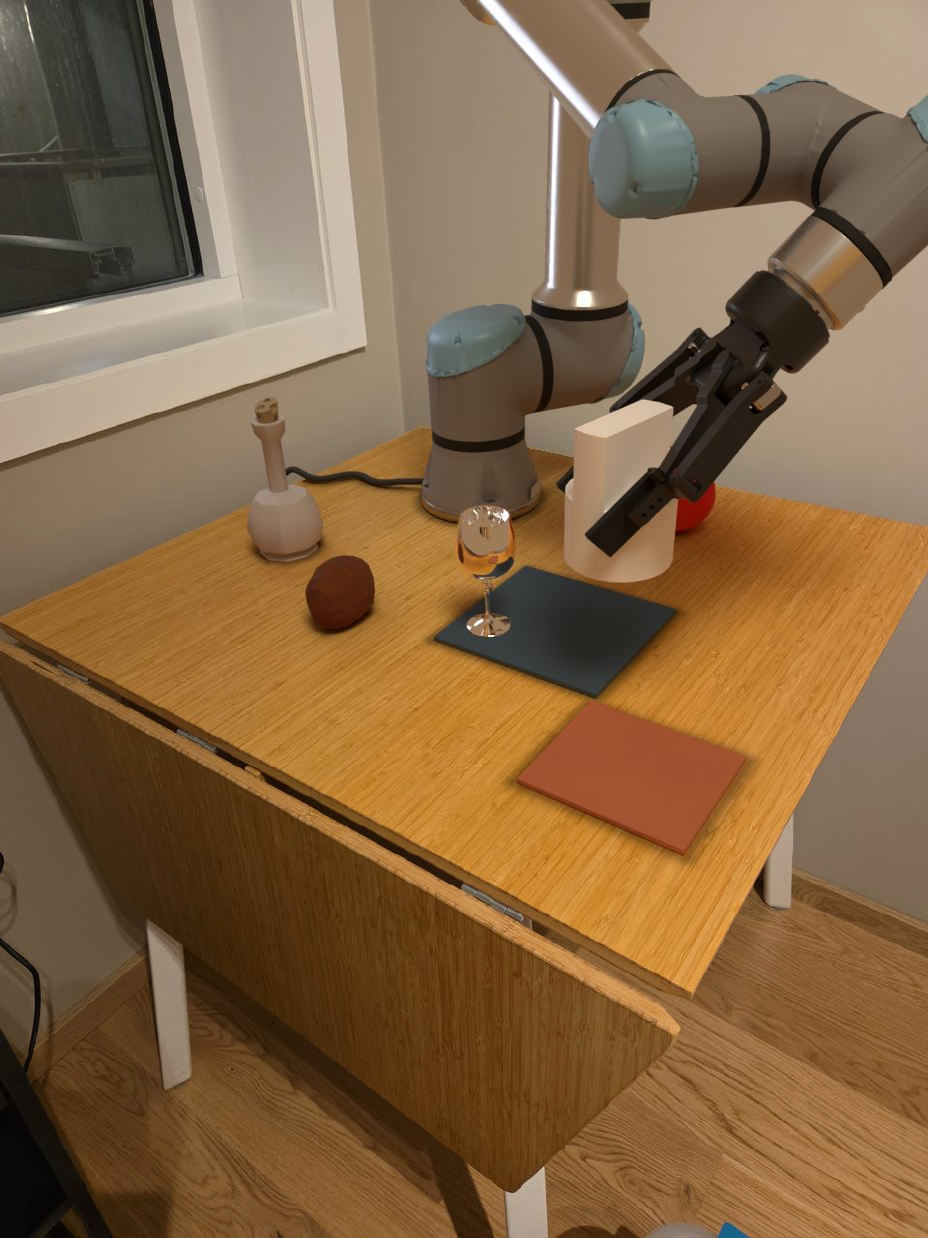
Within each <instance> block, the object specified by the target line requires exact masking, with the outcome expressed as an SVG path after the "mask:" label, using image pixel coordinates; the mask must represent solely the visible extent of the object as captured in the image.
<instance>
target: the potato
mask: <svg viewBox="0 0 928 1238" xmlns="http://www.w3.org/2000/svg"><path fill="white" fill-rule="evenodd" d="M304 594H305V599H306V600H305V601H306V604H307V607H308V610H309V613H310V615H311V617H312V619H313V622H315V623H316V624H317V625H318V626H320V627H321V628H323V629H327V630H338V629H343V628H344V627H345V628H346V627H347V626H349V625H352V624H353V623H354V622H356V621H357V620H359V619H360V618H361V617H362V616H364V614H366V613H367V612H369V611H370V609H371V608H372V606H373V604H374V602H375V596H376V595H375V594H376V586H375V578H374V574H373V572H372V569H371V567H370V565H369V563H367V562H366V560H364V559H363V558H360V557H359V556H355V555H348V554H344V555H337V556H333V557H331V558H328V559H326V560H325V561H323V562H322V563H321V564H319V565H318V566H317V567H316V568H315V570H314V572H313V574H312V576H311V578H310V579H309V581H308V583H307V584H306V587H305V590H304Z"/></svg>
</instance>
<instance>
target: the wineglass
mask: <svg viewBox="0 0 928 1238" xmlns="http://www.w3.org/2000/svg"><path fill="white" fill-rule="evenodd" d="M514 529H515V527H514V524H513V522H512V519H511V518H510V514H509V512H508V511H507V510H505V509H503V508H501V507H497V506H489V505H485V506H476V507H472V508H469V509H467V510H465V511H463V512H462V513H461V515H460V518H459V522H457V528H456V535H455V556H456V561H457V564H458V566H459V568H460V569H461V570H462V571H463V572H464V573H465V574H466V575H468V576H469V577H471V578H474V579H477V580H482V584H481V587H482V591H483V595H484V597H485V600H486V613H482V614H478V615H475V616H473V617H472V618H470V619H469V620H468V622H467V625H466V626H467V629H468V631H469V632H470V633H472V634H474V635H476V636H480V637H495V636H499V635H502V634H504V633H506V632H507V631H508V630H509V629H510V627H511V622H510V620H509V619H508V618H507V617H506V616H504V615H501V614H498V613H491V609H490V595H491V592H492V591H493V581H492V580H495V579H498V578H500V577H502V576H504V575H505V574H507V573H508V572H509V571H510V570H511V568H512V567H513V566H514V563H515V561H516V557H517V540H516V534H515V533H516V532H515V530H514Z"/></svg>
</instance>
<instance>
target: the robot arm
mask: <svg viewBox="0 0 928 1238" xmlns="http://www.w3.org/2000/svg"><path fill="white" fill-rule="evenodd" d="M459 1H460V3H461V4H462V5H463V7H465V9H467V11H468V13H469V14H470V15H471V16H473V18H475V19H476V20H477V21H479V22H481V23H482V24H486V25H488V26H495V27H496V28H498V31H499V32H501V34H502V35H503V36H504V37H505V39H506V40H507V41H508V42H509V43H510V45H511V46H512V47H513V48H514V49H515V51H516V52H517V53H518V54H519V56H521V58H522V59H523V61H524V62H525V63H526V64H527V65H528V67H529V68H530V69H531V70H532V71H533V73H534V74H535V75H536V76H537V77H538V79H539V80H540V81H541V82H542V84H543V85H544V86H545V87H546V88H547V90H548V110H547V111H548V113H547V114H548V115H547V116H548V118H547V151H546V152H547V158H546V195H545V196H546V204H545V239H544V240H545V241H544V243H545V245H544V278H543V280H542V282H541V283H540V284H539V285H537V286H536V288H535V289H534V290H532V292H531V308H530V314H525V315H524V312H523V311H522V309H521V308H520V307H518V306H516V305H513V304H507V303H494V304H490V305H486V304H483V305H482V304H481V305H476V306H471V307H467V308H463V309H460V310H456V311H454V312H451V313H449V314H447V315H445V316H443V317H441V318H439V319H438V320H436V322H435V323H434V324H432V326H430V328H429V330H428V333H427V336H426V360H425V371H426V375H427V384H428V398H429V399H428V400H429V411H430V412H429V413H430V426H431V427H430V428H431V439H432V440H431V443H432V444H431V449H430V452H429V457H428V461H427V464H426V467H425V471H424V476H423V477H401V478H400V477H399V478H384V479H383V478H375V477H373V476H370V475H369V474H367V473H365V472H362V471H356V470H348V471H347V470H346V471H339V472H336V473H332V474H325V475H317V474H312V473H309V472H307V471H305V470H304V469H302V468H300V467H298V466H295V465H294V466H288V467H285V470H286V476H287V477H288V476H289V475H290V474H292V473H293V474H296V475H297V476H299V477H301V478H303V479H305V480H307V481H310V482H314V483H326V482H327V483H328V482H333V481H338V480H342V479H360V480H362V481H364V482H367V483H369V484H371V485H373V486H378V487H389V486H390V487H391V486H421V504H422V506H423V508H424V509H425V511H427V512H428V513H429V514H431V515H433V516H434V517H437V518H440V519H442V520H445V521H449V522H454V523H458V522H459V518H460V515H461V513H462V512H463V511H465V510H467V509H469V508H472V507H476V506H485V505H489V506H497V507H501V508H503V509H505V510H507V511H508V512H509V514H510V518H511V520H512V519H516V518H518V517H520V516H524V515H525V514H527V513H529V512H530V511H532V510H533V509H535V508H536V506H537V505H538V504H539V502H540V498H541V494H540V493H541V490H542V477H540V478H539V476H538V475H537V473H536V469H535V466H534V463H533V460H532V456H531V453H530V451H529V448H528V445H527V443H526V442H527V441H526V416H528V415H532V414H536V413H541V412H542V413H543V412H547V411H552V410H558V409H564V408H570V407H575V406H580V405H585V404H587V405H589V404H590V405H594V404H597V403H600V402H602V401H605V400H608V399H612V398H615V397H618V396H620V395H622V394H623V395H622V396H621V397H619V399H617V400H616V401H615V402H614V403H613V404H611V406H610V407H609V410H608V413H609V414H610V413H612V412H614V411H617V410H619V409H621V408H624V407H626V406H628V405H631V404H633V403H635V402H638V401H640V400H649V401H654V402H660V403H663V404H666V405H669V406H672V407H673V418H674V417H675V416H677V415H679V414H680V413H681V412H683V411H684V410H686V409H688V408H690V407H691V406H693V405H696V406H695V408H694V410H693V412H692V413H691V415H690V416H689V418H688V420H687V421H686V423H685V424H684V426H683V428H682V429H681V431H680V432H679V434H678V435H677V437H676V439H675V440H674V441H673V444H672V445H671V449H670V450H669V452H668V453H667V455H666V457H665V458H664V460H663V461H662V463H661V465H660V466H659V468H656V467H651V468H650V467H649V468H648V470H647V472H646V473H645V474H644V475H643V476H642V477H641V478H640V479H639V480H638V481H637V482H636V483H635V484H634V485H633V486H632V487H631V488H630V489H629V490H628V491H627V492H626V493H625V494H624V495H623V496H622V497H621V498H620V499H619V500H618V501H617V502H616V503H615V504H614V505H613V506H612V507H611V508H610V509H609V510H608V511H607V512H606V513H605V514H604V515H603V516H602V517H601V518H600V519H599V520H598V521H597V522H596V523H595V524H594V525H593V526H592V527H591V528H590V529H589V530H588V531H587V532H586V533H585V536H586V538H587V539H588V540H590V541H591V542H592V543H593V544H594V545H596V546H597V547H598V548H599V549H600V550H602V551H603V552H604V553H605V554H606V555H608V556H609V557H610V558H611V557H612V556H613V555H614V554H615V553H616V552H617V551H618V550H619V549H620V548H621V547H622V546H623V545H624V544H625V543H626V542H627V541H628V540H629V539H630V538H631V537H632V536H633V535H634V534H635V533H636V532H637V531H638V530H639V529H640V528H642V527H643V526H644V525H646V524H647V523H648V522H649V521H650V520H651V519H652V518H653V517H654V516H655V515H656V514H657V513H658V512H659V511H660V510H661V509H663V508H664V507H665V506H666V505H667V504H668V503H669V502H670V501H671V500H672V499H674V498H675V499H680V498H685V499H687V500H688V501H689V502H690V503H695V502H697V501H698V500H699V499H700V498H701V497H702V496H703V494H704V493H705V492H706V491H707V490H708V488H709V487H710V486H711V485H712V483H713V482H714V483H715V481H716V480H717V479H718V478H719V476H720V475H721V474H722V473H723V471H724V470H725V469H726V467H727V466H728V465H729V464H730V463H731V462H732V460H733V459H734V458H736V455H737V454H738V453H739V452H740V451H741V449H742V448H743V447H744V446H745V444H747V442H749V439H751V437H752V436H753V435H754V433H755V432H756V431H757V430H758V428H759V427H760V426H761V425H762V424H763V422H764V421H766V420H767V419H768V418H769V417H771V416H772V415H773V414H774V413H775V412H777V410H778V409H780V408H781V407H782V406H783V405H784V404H785V403H786V402H787V400H788V395H787V394H786V393H785V392H784V390H783V389H782V388H781V387H780V386H779V385H778V384H777V382H775V381H774V378H775V376H776V375H777V374H778V373H779V371H780V370H782V371H783V372H785V373H787V374H791V375H794V374H797V373H799V372H801V370H802V369H803V368H804V367H805V366H806V365H807V364H808V363H810V361H812V360H813V359H814V358H815V357H816V355H817V354H819V353H820V352H821V351H822V350H823V349H824V348H825V347H826V346H827V345H828V344H829V343H830V338H831V334H830V330H831V331H841V330H843V329H844V328H845V327H846V326H847V325H848V324H849V323H850V321H852V320H853V318H854V317H855V316H857V315H858V314H860V313H862V312H863V311H864V310H865V308H866V306H867V305H868V304H869V303H870V302H871V301H872V300H873V299H874V298H875V297H876V296H877V295H878V294H879V293H880V292H881V291H882V290H884V289H885V287H887V286H888V285H889V283H891V282H892V281H893V278H894V277H895V276H896V275H898V273H900V271H902V270H903V269H904V268H906V266H907V265H909V263H911V262H912V261H913V260H914V259H915V258H917V256H918V255H919V254H921V252H922V251H924V250H925V249H926V248H927V247H928V94H927V95H926V96H924V97H923V98H922V99H921V100H920V101H919V102H918V103H917V104H915V105H913V106H911V107H909V109H908V110H907V111H906V114H905V116H904V117H900V116H897V115H895V114H893V113H888V112H884V111H882V110H880V109H878V108H876V107H874V106H872V105H870V104H868V103H866V102H864V101H862V100H859V99H857V98H855V97H854V96H852V95H848V94H847V93H845V92H843V91H840V90H839V89H837V87H835V86H834V85H830V84H829V83H828V82H827V81H824V80H821V79H819V78H815V79H812V78H810V77H806V76H803V75H799V74H793V73H791V74H783V75H779V76H776V78H773V80H772V81H770V82H768V83H767V84H765V85H764V86H762V87H760V88H759V89H757V91H755V92H754V93H752V94H751V93H750V94H734V95H723V96H703V95H700V94H698V93H697V92H696V91H695V89H693V88H692V87H691V85H689V83H687V82H686V81H685V80H683V79H684V78H682V77H681V76H680V75H679V74H678V73H677V72H676V71H675V70H674V69H673V68H672V67H671V65H669V63H667V62H666V61H665V59H663V57H661V55H659V53H658V52H657V51H656V50H655V49H654V48H653V47H652V46H651V45H650V43H648V42H647V41H646V40H645V38H643V36H641V34H640V32H641V31H642V30H643V29H644V28H645V26H646V25H647V24H648V23H649V22H650V16H651V15H650V13H651V4H652V3H651V2H652V1H653V0H459ZM784 202H785V203H786V202H797V203H801V204H803V205H804V206H806V207H808V208H809V209H811V210H813V212H812V213H811V214H809V216H807V217H806V218H805V219H804V220H803V221H802V222H801V223H800V224H799V225H798V226H797V228H796V229H794V230H793V232H792V233H791V234H790V235H788V237H787V238H786V239H784V241H783V242H782V243H781V244H780V245H779V246H778V247H777V248H776V250H775V251H773V252H772V254H770V255H769V257H768V258H767V262H766V263H767V270H764V269H761V270H756V271H755V272H754V273H753V274H752V275H751V276H750V277H749V278H748V279H747V280H746V281H745V282H744V283H743V285H741V286H740V287H739V288H738V289H737V291H735V292H734V294H733V295H732V296H730V298H729V299H728V300H727V301H726V303H725V306H724V308H725V309H724V310H725V313H726V315H727V316H728V318H729V319H730V320H729V324H728V325H727V326H725V327H724V328H723V329H722V330H720V332H718V333H716V334H715V335H714V336H712V337H711V336H709V335H708V334H707V333H706V332H705V331H704V330H703V329H702V327H696V328H695V329H693V330H692V332H691V333H690V334H689V335H688V336H687V337H686V338H685V339H684V340H683V342H682V343H681V344H680V345H679V346H678V347H677V349H675V350H674V351H673V352H672V353H671V354H669V355H668V356H667V357H666V358H665V359H663V361H662V362H661V363H659V364H658V365H657V366H655V367H654V369H652V370H651V371H650V372H649V373H648V374H646V375H645V376H644V377H643V378H642V379H640V380H639V381H638V382H637V383H636V384H635V385H633V384H634V382H635V381H636V379H637V377H638V375H639V373H640V371H641V369H642V365H643V362H644V358H645V357H644V356H645V349H646V335H645V330H644V329H642V325H643V320H642V317H641V315H640V313H639V311H638V310H637V308H635V306H634V305H633V304H631V303H630V302H629V292H628V290H626V288H625V287H624V286H623V285H622V284H621V283H620V282H619V280H618V268H619V253H620V240H621V239H620V236H621V225H622V224H621V223H622V221H621V220H629V219H630V220H631V219H645V220H660V219H666V218H670V217H675V216H681V215H688V214H695V213H702V212H710V211H716V210H717V211H718V210H723V209H732V208H742V207H751V206H759V205H768V204H777V203H784ZM630 387H631V388H630ZM629 388H630V389H629ZM628 389H629V390H628ZM626 391H627V392H626ZM625 392H626V393H625ZM624 393H625V394H624ZM674 469H675V471H674V472H673V470H674ZM573 478H574V464H573V465H572V466H571V467H570V468H569V469H568V470H567V471H566V472H565V473H564V474H563V475H562V476H561V477H560V478H559V479H558V480H557V482H556V483H555V486H556V488H557V489H559V490H560V491H561V492H562V493H563V494H565V488H566V485H567V484H568V482H569V481H570V480H571V479H573ZM694 479H696V482H695V483H694V482H693V481H694Z"/></svg>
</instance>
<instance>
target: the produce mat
mask: <svg viewBox="0 0 928 1238" xmlns="http://www.w3.org/2000/svg"><path fill="white" fill-rule="evenodd" d="M746 762H747V756H746V755H743V754H740V753H737V752H735V751H732V750H730V749H727V748H724V747H721V746H718V745H716V744H712V743H710V742H707V741H705V740H702V739H699V738H696V737H693V736H690V735H688V734H685V733H682V732H680V731H676V730H674V729H671V728H669V727H666V726H663V725H660V724H657V723H654V722H651V721H649V720H647V719H644V718H641V717H639V716H635V715H634V714H633V715H632V714H630V713H627V712H624V711H622V710H619V709H616V708H614V707H610V706H607V705H605V704H602V703H600V702H597V701H594V700H590V701H588V703H586V704H585V706H584V707H583V708H581V710H580V711H579V712H578V713H577V714H576V716H574V718H573V719H571V721H570V722H568V723H567V725H566V726H564V728H562V730H561V731H560V732H559V733H558V734H557V736H556V737H554V739H553V740H552V741H551V742H550V743H549V744H548V745H547V746H546V747H545V748H544V749H543V750H542V752H541V753H539V755H538V756H537V757H536V758H535V759H534V760H532V762H531V763H530V764H529V765H528V766H527V767H526V769H524V770H523V772H522V773H521V774H520V775H519V776H518V777H517V778H516V783H517V784H519V785H521V786H523V787H526V788H528V789H530V790H532V791H535V792H537V793H540V794H542V795H544V796H545V797H548V798H551V799H553V800H556V801H557V802H560V803H562V804H564V805H567V806H569V807H571V808H574V809H576V810H578V811H581V812H583V813H585V814H587V815H590V816H591V817H592V816H593V817H595V818H596V819H598V820H601V821H603V822H606V823H608V824H610V825H612V826H615V827H617V828H620V829H622V830H624V831H627V832H629V833H631V834H634V835H636V836H639V837H641V838H643V839H645V840H647V841H650V842H652V843H655V844H656V845H659V846H661V847H664V848H666V849H668V850H671V851H673V852H675V853H677V854H680V855H682V856H685V855H686V853H687V851H688V849H689V848H690V847H691V846H692V844H693V842H694V841H695V839H696V838H697V836H698V834H699V833H700V832H701V830H702V828H703V827H704V825H705V824H706V822H707V821H708V819H709V818H710V817H711V815H712V813H713V811H714V810H715V809H716V807H717V806H718V804H719V803H720V801H721V799H722V798H723V796H724V795H725V794H726V792H727V790H728V789H729V787H730V786H731V784H732V783H733V781H734V780H735V778H736V777H737V776H738V774H739V772H740V770H741V769H742V768H743V766H744V764H745V763H746Z"/></svg>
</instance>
